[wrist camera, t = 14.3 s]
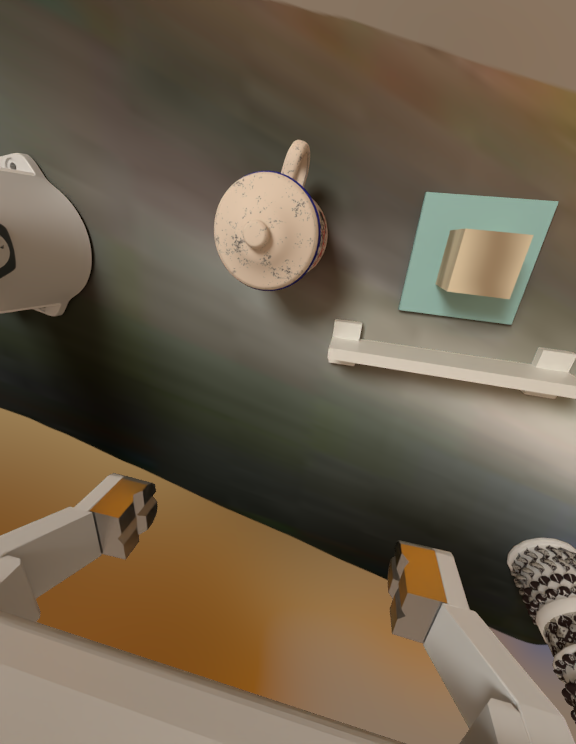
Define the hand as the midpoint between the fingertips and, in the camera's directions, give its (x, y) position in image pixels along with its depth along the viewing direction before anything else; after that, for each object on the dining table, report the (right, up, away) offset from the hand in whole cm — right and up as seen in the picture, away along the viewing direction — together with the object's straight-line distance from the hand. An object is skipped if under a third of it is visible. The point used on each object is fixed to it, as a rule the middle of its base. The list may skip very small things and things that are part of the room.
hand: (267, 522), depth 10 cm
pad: (+18, +16, +21) cm, 32 cm away
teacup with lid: (+1, +21, +23) cm, 31 cm away
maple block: (+18, +16, +20) cm, 31 cm away
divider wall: (+18, +7, +25) cm, 31 cm away
